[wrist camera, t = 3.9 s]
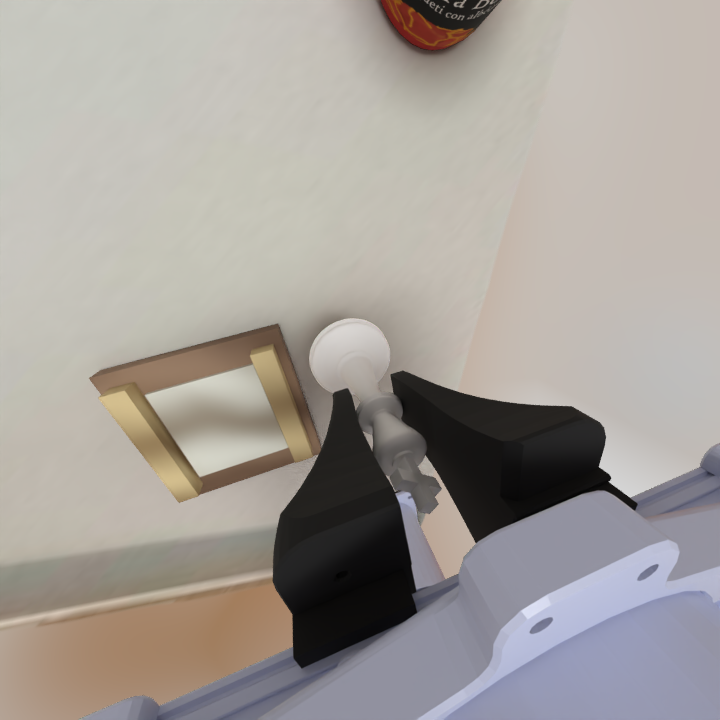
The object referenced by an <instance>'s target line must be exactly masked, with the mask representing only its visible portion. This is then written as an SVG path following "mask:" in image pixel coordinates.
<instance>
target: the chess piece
mask: <svg viewBox="0 0 720 720" xmlns="http://www.w3.org/2000/svg"><path fill="white" fill-rule="evenodd" d="M389 363H390V348H389V344H388V342H387V340H386V338H385V336H384V334H383V333H382V331H381V330H380V329H379V328H378V327H377V326H376V325H374V324H373V323H371V322H369V321H366V320H363V319H357V318H349V319H343V320H340V321H337V322H334V323H332V324H331V325H329V326H327V327H326V328H325V329H323V330H322V331H321V332H320V333H319V335H318V336H317V337H316V339H315V340H314V342H313V344H312V346H311V349H310V354H309V364H310V368H311V371H312V373H313V375H314V377H315V379H316V380H317V382H318V383H319V384H320V385H321V386H322V387H323V388H324V389H326V390H327V391H329V392H331V393H334V392H336V391H339V390H342V389H345V388H348V389H349V391H350V393H351V395H356V396H357V397H358V399H359V400H360V402H361V403H360V404H359V406H358V408H357V410H356V415H357V419H358V422H359V425H360V427H361V429H362V430H363V431H364V432H365V433H368V434H372V435H373V454H374V456H375V458H376V460H377V461H378V463H379V465H380V467H381V469H382V470H383V472H384V474H385V475H387V476H390V480H391V482H392V484H393V487H394V489H395V490H399V491H404V492H408V493H410V494H411V496H412V498H413V500H414V502H415V504H416V506H417V508H418V510H419V512H422V513H428V514H430V513H431V512H432V511H433V510H434V509H435V508H436V506H437V505H438V502H437V500H436V498H435V496H436V495H437V494H438V493H439V492H440V490H441V489H442V488H441V487H440V485H439V483H438V482H437V480H436V478H434V477H430V476H427V475H423V474H421V472H420V470H419V468H418V467H417V466H418V465H419V464H420V463H421V462H422V461H423V459H424V457H425V455H426V451H427V444H426V441H425V439H424V438H423V436H422V435H421V434H420V433H418V432H417V431H416V430H414V429H413V428H411V427H409V426H408V425H406V424H405V423H404V422H403V421H401V417H402V414H403V408H402V404H401V401H400V399H399V398H398V397H397V396H396V395H395V394H392V393H390V392H381V390H380V388H379V385H378V382H379V381H380V380H381V379H382V378H383V376H384V375H385V373H386V371H387V369H388V366H389Z"/></svg>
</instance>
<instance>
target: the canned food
mask: <svg viewBox="0 0 720 720" xmlns="http://www.w3.org/2000/svg"><path fill="white" fill-rule="evenodd" d="M501 1H502V0H381V2H382V5H383V7H384V9H385V11H386V13H387V15H388V17H389V19H390V21H391V23H392V24H393V25H394V26H395V28H396V29H397V30H398V32H399V33H400V34H401V35H402V36H403V37H404V38H405V39H407V40H408V41H409V42H410V43H411V44H413V45H416V46H418V47H420V48H422V49H427V50H439V49H444V48H447V47H449V46H451V45H454V44H456V43H458V42H460V41H462V40H464V39H465V38H466V37H468V36H469V35H470V34H471V33H472V32H474V31H475V30H476V28H477V27H478V26H479V25H480V24H481V23H482V22H483V21H484V20H485V18H486V17H487V16H488V15H489V14H490V13H491V12H492V11H493V9H494V8H495V7H496V6H497V5H498V4H499V3H500V2H501Z"/></svg>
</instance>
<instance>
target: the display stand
mask: <svg viewBox="0 0 720 720" xmlns="http://www.w3.org/2000/svg"><path fill="white" fill-rule="evenodd" d="M89 379H90V380H91V382H92V383H93V384H94V386H95V387H96V388H97V390H98V391H99V392H100V394H101V396H100V397H99V400H100V401H101V402H102V404H103V405H104V406H105V407H106V409H107V410H108V411H109V413H110V414H111V415H112V417H113V418H114V419H115V420H116V422H117V423H118V424H119V426H120V427H121V428H122V430H123V431H124V432H125V433H126V435H127V436H128V437H129V439H130V440H131V441H132V443H133V444H134V445H135V446H136V448H137V449H138V450H139V452H140V453H141V454H142V456H143V457H144V458H145V459H146V461H147V462H148V463H149V465H150V466H151V467H152V468H153V470H154V471H155V472H156V474H157V475H158V476H159V478H160V479H161V480H162V481H163V483H164V484H165V485H166V487H167V488H168V489H169V491H170V492H171V493H172V494H173V496H174V497H175V498H176V500H177V501H178V502H179V503H180V502H183V501H186V500H188V499H191V498H194V497H197V496H199V495H200V494H203V493H206V492H209V491H212V490H215V489H218V488H221V487H224V486H227V485H229V484H232V483H235V482H238V481H241V480H244V479H247V478H250V477H253V476H256V475H259V474H262V473H265V472H268V471H270V470H273V469H276V468H279V467H282V466H285V465H288V464H291V463H294V462H295V463H297V462H300V461H303V460H305V459H308V458H311V457H313V456H314V455H317V454H319V453H320V451H321V444H320V441H319V438H318V436H317V433H316V430H315V427H314V424H313V421H312V419H311V416H310V413H309V410H308V407H307V404H306V401H305V399H304V396H303V393H302V390H301V387H300V384H299V382H298V379H297V376H296V373H295V370H294V367H293V364H292V362H291V359H290V356H289V353H288V350H287V347H286V345H285V342H284V339H283V336H282V333H281V330H280V327H279V325H278V324H275V325H271V326H267V327H263V328H259V329H256V330H252V331H248V332H244V333H240V334H237V335H233V336H229V337H225V338H221V339H218V340H214V341H210V342H206V343H202V344H199V345H195V346H191V347H187V348H183V349H180V350H176V351H172V352H168V353H164V354H161V355H157V356H153V357H149V358H145V359H142V360H138V361H134V362H130V363H126V364H123V365H119V366H115V367H111V368H107V369H104V370H100V371H99V372H97V373H96V374H94V375H93V376H92V377H90V378H89Z"/></svg>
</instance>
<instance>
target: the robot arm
mask: <svg viewBox="0 0 720 720" xmlns="http://www.w3.org/2000/svg"><path fill="white" fill-rule="evenodd" d="M391 380H392V386H393V392H394V394H395V395H396V396H397V397H398V398H399V399H400V401H401V404H402V408H403V414H402V417H401V420H402V421H403V422H404V423H405V424H406V425H408V426H409V427H411V428H413V429H414V430H416V431H417V432H418V433H420V434H421V435H422V436H423V438H424V439H425V441H426V444H427V451H426V457H427V458H428V459H429V461H430V462H431V463H432V465H433V467H434V468H435V470H436V471H437V473H438V474H439V476H440V478H441V480H442V481H443V483H444V485H445V487H446V488H447V490H448V492H449V493H450V496H451V497H452V499H453V501H454V503H455V505H456V506H457V508H458V510H459V512H460V514H461V516H462V518H463V519H464V521H465V523H466V525H467V527H468V529H469V531H470V533H471V535H472V537H473V538H474V540H475V542H476V544H475V545H474V546H473V548H472V549H471V550H470V551H469V552H468V553H467V554H466V555H465V556H464V559H463V562H462V565H461V568H460V571H459V574H457V575H454V576H452V577H450V578H448V579H445V578H444V575H443V573H442V571H441V569H440V567H439V565H438V563H437V561H436V558H435V556H434V554H433V552H432V550H431V548H430V546H429V544H428V541H427V539H426V537H425V535H424V533H423V531H422V529H421V527H420V525H419V523H418V517H417V511H416V505H415V502H414V500H413V498H412V496H411V494H410V493H408V492H404V491H401V492H398V493H396V494H395V492H394V490H393V487H392V485H391V484H390V482H389V480H388V479H387V477H386V476H385V474H384V472H383V470H382V469H381V467H380V465H379V463H378V461H377V460H376V458H375V456H374V454H373V452H372V450H371V448H370V446H369V444H368V442H367V440H366V438H365V436H364V434H363V431H362V429H361V427H360V425H359V422H358V419H357V415H356V411H355V407H354V403H353V399H352V395H351V393H350V391H349V389H348V388H345V389H342V390H339V391H336V392H334V394H333V410H332V415H331V420H330V424H329V428H328V432H327V435H326V438H325V441H324V444H323V446H322V449H321V451H320V453H319V455H318V457H317V460H316V462H315V464H314V466H313V468H312V469H311V471H310V473H309V474H308V476H307V478H306V479H305V481H304V483H303V484H302V486H301V488H300V489H299V491H298V492H297V493H296V495H295V496H294V497H293V499H292V500H291V501H290V503H289V504H288V505H287V507H286V508H285V509H284V510H283V512H282V513H281V514H280V518H279V523H278V527H277V533H276V539H275V545H274V556H273V583H274V586H275V588H276V590H277V592H278V593H279V595H280V596H281V598H282V599H283V601H284V602H285V604H286V605H287V607H288V608H289V610H290V611H291V613H292V614H293V647H292V648H289V649H287V650H285V651H282V652H280V653H278V654H276V655H273V656H271V657H269V658H267V659H264V660H262V661H260V662H258V663H255V664H253V665H251V666H249V667H246V668H244V669H242V670H239V671H237V672H235V673H233V674H230V675H228V676H226V677H224V678H221V679H219V680H217V681H214V682H212V683H210V684H208V685H206V686H203V687H201V688H199V689H197V690H194V691H192V692H190V693H187V694H185V695H183V696H181V697H179V698H176V699H174V700H172V701H169V702H167V703H165V704H162V705H160V706H159V705H158V704H157V702H155V701H154V699H152V698H150V697H147V696H134V697H130V698H127V699H124V700H122V701H120V702H117V703H115V704H113V705H110V706H108V707H106V708H103V709H101V710H99V711H96V712H94V713H92V714H89V715H87V716H85V717H82V718H80V719H78V720H720V443H719V444H716V445H715V446H713V447H711V448H710V449H709V450H708V451H707V452H706V453H705V455H704V457H703V458H702V461H701V463H700V466H701V467H699V468H697V469H694V470H692V471H690V472H688V473H686V474H683V475H681V476H679V477H676V478H674V479H672V480H670V481H667V482H665V483H663V484H661V485H658V486H656V487H654V488H651V489H649V490H647V491H645V492H642V493H640V494H638V495H636V496H633V497H631V498H630V497H628V496H627V495H625V494H624V493H623V492H621V491H620V490H618V489H617V488H616V487H614V486H613V485H612V484H611V483H609V482H608V481H610V479H611V477H610V475H609V474H608V473H606V472H605V471H603V470H602V469H601V468H599V463H600V460H601V457H602V453H603V450H604V446H605V439H606V435H605V430H604V427H603V426H602V425H601V423H600V422H598V421H596V420H595V419H593V418H591V417H589V416H587V415H586V414H584V413H582V412H581V411H579V410H577V409H575V408H574V407H572V406H540V405H527V404H517V403H509V402H502V401H496V400H489V399H485V398H480V397H475V396H472V395H467V394H464V393H460V392H457V391H454V390H451V389H448V388H445V387H442V386H439V385H437V384H434V383H431V382H429V381H427V380H424V379H422V378H419V377H417V376H415V375H412V374H410V373H408V372H405V371H400V372H397V373H394V374H391Z"/></svg>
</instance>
